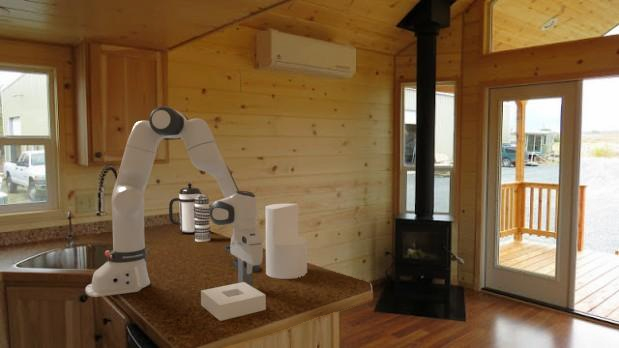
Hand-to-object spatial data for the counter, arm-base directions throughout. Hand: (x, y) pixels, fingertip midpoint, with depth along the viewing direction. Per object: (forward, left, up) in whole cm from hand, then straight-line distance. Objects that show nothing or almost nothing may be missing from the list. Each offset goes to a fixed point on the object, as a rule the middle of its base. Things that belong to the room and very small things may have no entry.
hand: (245, 271), depth 165 cm
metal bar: (0, 0, -5) cm, 5 cm away
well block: (-11, -14, -7) cm, 19 cm away
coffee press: (+16, +110, -7) cm, 111 cm away
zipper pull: (+13, +30, -7) cm, 34 cm away
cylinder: (+24, +9, -7) cm, 26 cm away
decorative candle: (+17, +87, -7) cm, 89 cm away
